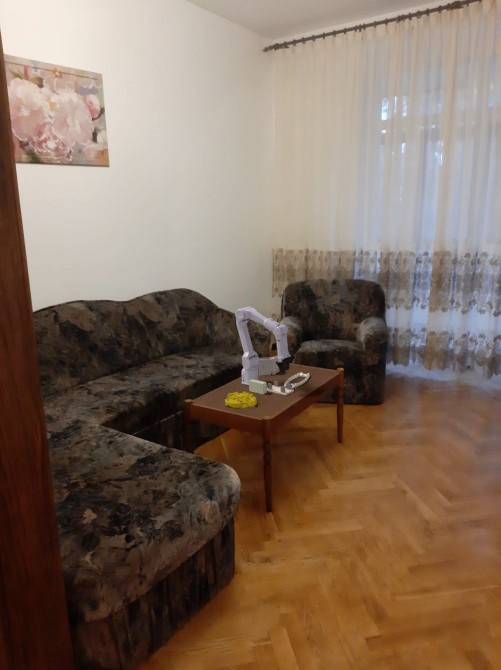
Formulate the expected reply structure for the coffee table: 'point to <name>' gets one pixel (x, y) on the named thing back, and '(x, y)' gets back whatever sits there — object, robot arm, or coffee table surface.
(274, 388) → the plate with corner feet
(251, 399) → the yellow textured disc
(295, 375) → the door handle
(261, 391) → the long rectangular block
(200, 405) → the coffee table surface
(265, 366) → the hinge
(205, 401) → the coffee table surface
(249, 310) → the robot arm
